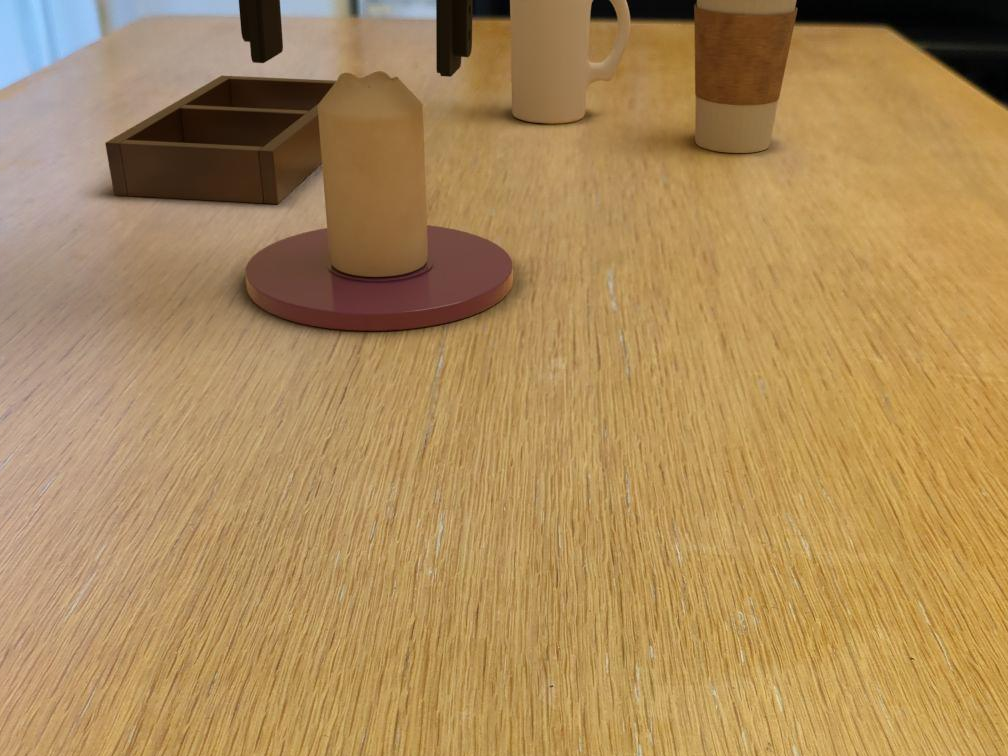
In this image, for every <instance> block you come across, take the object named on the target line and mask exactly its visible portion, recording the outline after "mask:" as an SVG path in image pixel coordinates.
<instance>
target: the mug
mask: <svg viewBox="0 0 1008 756" xmlns="http://www.w3.org/2000/svg"><path fill="white" fill-rule="evenodd" d="M593 2H594V0H509V15H510V23H509V24H510V69H511V70H510V77H511V79H510V82H511V113H512V116H513V117H514V118H515V119H518V120H520V121H524V122H529V123H535V124H549V125H550V124H568V123H573V122H577V121H579V120H582V119H583V118H584V117H585V114H586V103H587V89H588V87H589V85H591V84H592V83H595V82H598V81H604V82H610V81H613V79H614V78H615V75H616V73H617V70H618V68H619V65H620V63H621V61H622V58H623V55H624V53H625V51H626V49H627V45H628V42H629V38H630V33H631V14H630V9H629V8H630V7H629V5H628V2H627V0H609V2H610V3H611V4H612V6H613V8H614V11H615V13H616V18H617V19H616V20H617V29H616V30H617V31H616V36H615V40H614V44H613V45H612V49H611V50H610V52H609V53H608V55H607V56H606V57H605V59H604V60H603V61H601V62H593V61H591V60H590V59H589V47H590V26H591V13H592V12H591V11H592V3H593Z"/></svg>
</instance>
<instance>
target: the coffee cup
mask: <svg viewBox="0 0 1008 756" xmlns="http://www.w3.org/2000/svg"><path fill="white" fill-rule="evenodd" d="M796 5H797V0H696V3H695V4H694V5H693V12H694V15H693V16H694V95H695V113H694V115H695V119H694V121H695V122H694V123H695V125H694V137H695V138H694V141H695V144H696V145H697V146H698V147H700V148H703V149H704V150H705V149H706V150H709V151H712V152H717V153H718V152H719V153H726V154H727V153H728V154H750V153H758V152H762V151H765V150H767V149H768V148H769V147H770V145H771V142H772V136H773V130H774V125H775V119H776V113H777V109H778V103H779V99H780V95H781V91H782V85H783V82H784V77H785V72H786V68H787V61H788V57H789V52H790V49H791V43H792V38H793V33H794V28H795V24H796V18H797V15H798V7H796Z"/></svg>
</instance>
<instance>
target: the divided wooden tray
mask: <svg viewBox="0 0 1008 756" xmlns="http://www.w3.org/2000/svg"><path fill="white" fill-rule="evenodd" d="M336 81H337V80H329V79H309V78H308V79H307V78H284V77H264V76H241V75H240V76H239V75H220V76H218V77H216V78H215V79H213V80H211V81H209V82H208V83H206V84H204V85H203V86H201V87H199V88H197V89H195V90H194V91H193V92H190V93H189V94H187V95H185V96H183V97H182V98H180V99H179V100H177V101H175V102H173V103H171V104H170V105H167V106H166V107H164V108H162V109H161V110H159V111H157V112H156V113H154V114H152V115H151V116H149V117H147V118H146V119H144V120H142V121H140V122H138V123H137V124H135V125H134V126H132V127H130V128H129V129H126V130H125V131H123V132H121V133H119V134H118V135H116V136H114V137H113V138H111V139H109V140H108V141H106V142H104V144H105V151H106V157H107V162H108V167H109V168H108V169H109V174H110V179H111V186H112V191H113V195H114V196H124V197H144V198H159V199H160V198H162V199H177V200H179V199H180V200H195V201H196V200H197V201H213V202H232V203H252V204H268V205H270V204H271V205H278V204H279V203H280V202H282V201H283V200H284V199H285V198H286V197H287V196H288V195H289V194H290V193H292V192H293V191H294V189H296V188H297V187H298V186H299V185H300V184H301V183H302V182H303V181H304V180H305V179H306V178H307V177H308V176H309V175H311V174H312V173H313V172H314V171H315V170H316V169H317V168H318V167H319V166H320V165H322V156H321V144H320V131H319V119H318V104H319V103H320V102H321V100H322V99H323V98H324V97H325V95H326V94H327V93H328V91H329V90H330V89H331V88H332V86H333V85H334V84H335V82H336Z"/></svg>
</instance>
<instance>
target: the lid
mask: <svg viewBox="0 0 1008 756" xmlns="http://www.w3.org/2000/svg"><path fill="white" fill-rule="evenodd" d="M427 242H428V256H427V262H426V264H425V265H424V266H423V267H421V268H419V269H417V270H415V271H413V272H409V273H406V274H401V275H395V276H386V277H366V276H357V275H351V274H347V273H344V272H341V271H339V270H337V269H336V268H334V267H333V266H332V264H331V260H330V254H329V244H328V232H327V227H325V228H319V229H313V230H310V231H306V232H302V233H298V234H294V235H290V236H288V237H285V238H283V239H280V240H277V241H275V242H273V243H270V244H268V245H266V246H265V247H263V248H262V249H260V250H258V251H257V252H255V254H254V255H253V256H252V257H251V258H250V259H249V260H248V262H247V263H246V267H245V269H244V276H245V285H246V291H247V294H248V296H249V298H250V299H251V300H252V302H253V303H254V304H255V305H256V306H258V307H259V308H260V309H262V310H264V311H265V312H267V313H269V314H272V315H274V316H276V317H278V318H281V319H283V320H287V321H290V322H293V323H297V324H300V325H307V326H311V327H315V328H324V329H331V330H332V329H333V330H339V331H340V330H342V331H358V332H359V331H361V332H382V331H383V332H384V331H401V330H411V329H420V328H426V327H432V326H439V325H443V324H447V323H451V322H455V321H460V320H463V319H466V318H469V317H472V316H474V315H477V314H479V313H482V312H484V311H486V310H488V309H490V308H491V307H494V306H495V305H496V304H498V303H499V302H501V301H502V300H503V299H504V298H505V297H506V296H507V295H508V294H509V292H510V291H511V289H512V287H513V283H514V264H513V260H512V258H511V256H510V254H509V253H508V252H507V251H506V250H505V249H504V248H502V247H501V246H500V245H498V244H497V243H495V242H493V241H491V240H489V239H488V238H484V237H481V236H480V235H477V234H474V233H470V232H467V231H463V230H460V229H454V228H450V227H443V226H437V225H429V224H427Z"/></svg>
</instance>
